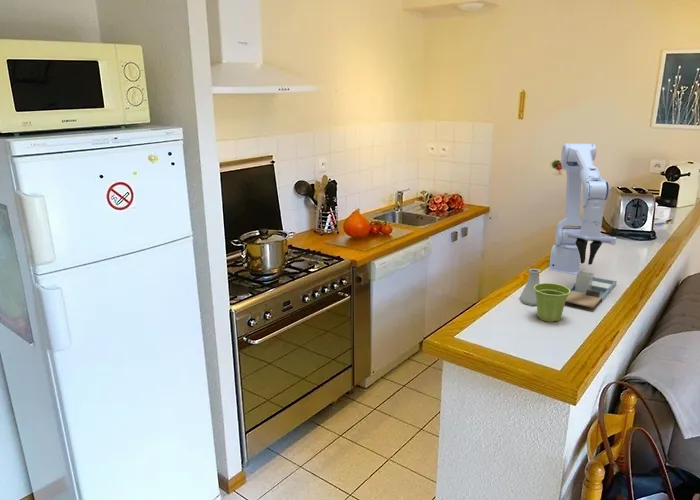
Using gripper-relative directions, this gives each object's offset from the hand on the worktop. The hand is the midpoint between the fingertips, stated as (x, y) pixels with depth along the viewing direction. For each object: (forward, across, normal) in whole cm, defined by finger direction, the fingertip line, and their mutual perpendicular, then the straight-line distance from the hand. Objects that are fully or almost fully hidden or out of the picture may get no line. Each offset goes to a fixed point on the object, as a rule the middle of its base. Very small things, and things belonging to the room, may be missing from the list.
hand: (586, 263), depth 165 cm
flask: (+10, -10, -18) cm, 23 cm away
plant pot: (+10, -2, -27) cm, 29 cm away
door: (+8, +2, -12) cm, 14 cm away
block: (+9, 0, 0) cm, 9 cm away
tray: (+9, +2, +2) cm, 10 cm away
